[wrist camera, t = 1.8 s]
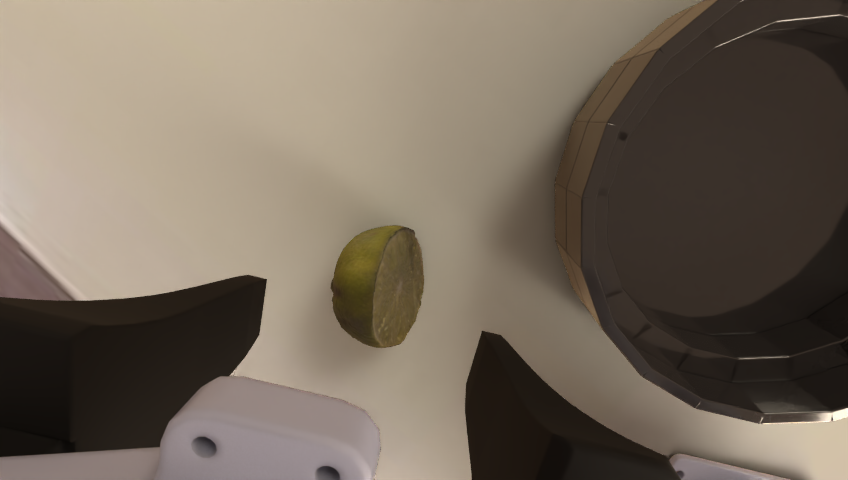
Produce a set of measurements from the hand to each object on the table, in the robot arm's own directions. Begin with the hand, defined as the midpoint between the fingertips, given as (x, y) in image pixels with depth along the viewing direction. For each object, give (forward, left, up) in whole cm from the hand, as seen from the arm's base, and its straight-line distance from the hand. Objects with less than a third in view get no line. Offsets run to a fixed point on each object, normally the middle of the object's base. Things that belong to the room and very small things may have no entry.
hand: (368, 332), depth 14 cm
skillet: (+7, -14, -7) cm, 17 cm away
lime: (0, 0, -7) cm, 7 cm away
